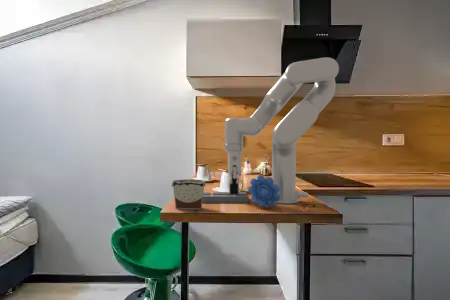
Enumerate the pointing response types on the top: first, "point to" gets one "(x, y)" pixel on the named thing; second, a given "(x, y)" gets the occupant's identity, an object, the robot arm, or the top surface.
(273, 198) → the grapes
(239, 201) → the fader base
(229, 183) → the fader tab
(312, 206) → the top surface
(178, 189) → the food container
